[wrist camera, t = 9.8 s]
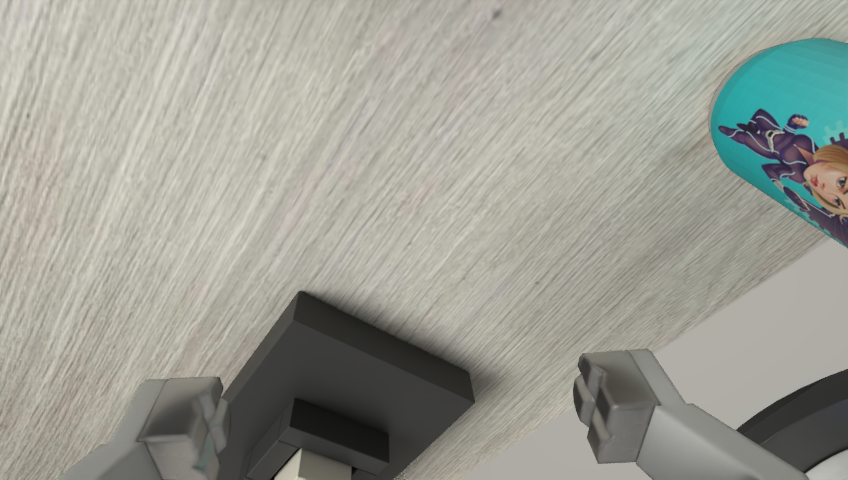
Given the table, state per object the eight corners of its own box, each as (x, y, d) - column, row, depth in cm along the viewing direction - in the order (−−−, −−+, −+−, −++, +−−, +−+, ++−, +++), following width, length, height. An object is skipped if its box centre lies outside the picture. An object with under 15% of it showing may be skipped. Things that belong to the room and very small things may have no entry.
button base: (469, 372, 29) (481, 431, 25) (334, 504, 34) (330, 566, 31) (299, 290, 25) (286, 346, 21) (179, 454, 30) (154, 519, 27)
